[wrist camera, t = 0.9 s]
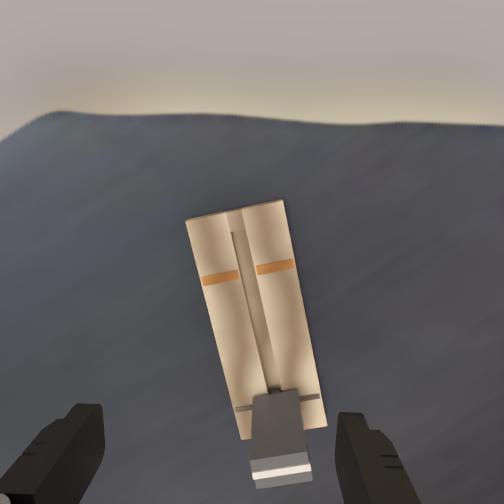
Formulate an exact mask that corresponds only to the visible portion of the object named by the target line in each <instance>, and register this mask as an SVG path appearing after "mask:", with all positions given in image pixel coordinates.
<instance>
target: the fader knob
mask: <svg viewBox="0 0 504 504" xmlns="http://www.w3.org/2000/svg"><path fill="white" fill-rule="evenodd" d="M250 464H251V468H252V476H253V480H255V484H256V488H257V489H261V488H267V487H274V486H280V485H287V484H293V483H300V482H307V481H313V478H312V471H311V465H310V459H309V452H308V446H307V439H306V433H305V427H304V420H303V414H302V409H301V404H300V400H299V395H298V390H293V391H287V392H280V388H278V389H273V390H271V394H270V395H264V396H258V397H253V403H252V423H251V443H250Z"/></svg>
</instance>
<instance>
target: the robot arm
mask: <svg viewBox="0 0 504 504" xmlns="http://www.w3.org/2000/svg"><path fill="white" fill-rule="evenodd" d="M104 450H105V437H104V424H103V411H102V406H101V405H100V404H81V403H78V404H76V405H75V406H74V407H73V408H72V409H71V410H70V412H69V413H68V414H67V415H66V417H65V418H64V419H57V420H55V421H54V422H52V423H51V424H50V425H48V426H47V427H45V428H44V429H42V430H41V432H40V433H39V434H38V435H37V436H36V438H35V439H34V440H33V441H32V442H31V445H29V446H28V447H27V448H26V449H25V450H24V452H23V454H22V456H19V458H18V459H17V460H16V461H15V462H14V463H13V465H12V466H11V467H10V468H9V469H8V471H7V472H6V473H5V474H4V475H3V476H2V478H1V479H0V504H79V502H80V501H81V499H82V497H83V495H84V493H85V491H86V490H87V488H88V486H89V484H90V482H91V480H92V479H93V477H94V475H95V473H96V471H97V470H98V468H99V466H100V464H101V462H102V459H103V455H104ZM335 464H336V472H337V476H338V480H339V484H340V488H341V492H342V496H343V500H344V504H421V502H420V500H419V498H418V496H417V494H416V492H415V490H414V488H413V485H412V483H411V481H410V479H409V477H408V475H407V473H406V471H405V470H404V468H403V465H402V463H401V460H400V458H398V454H397V452H396V450H395V448H394V446H393V444H392V442H391V441H390V440H389V439H388V438H387V437H386V436H385V435H384V434H383V433H382V432H381V431H380V430H369V427H368V425H367V422H366V420H365V418H364V415H363V414H362V413H349V412H339V415H338V423H337V435H336V446H335Z"/></svg>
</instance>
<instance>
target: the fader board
mask: <svg viewBox="0 0 504 504" xmlns="http://www.w3.org/2000/svg"><path fill="white" fill-rule="evenodd" d="M185 222H186V226H187V230H188V234H189V238H190V242H191V245H192V249H193V253H194V257H195V261H196V265H197V269H198V273H199V277H200V281H201V284H202V288H203V292H204V296H205V300H206V304H207V308H208V312H209V316H210V319H211V323H212V327H213V331H214V335H215V339H216V343H217V347H218V351H219V355H220V358H221V362H222V366H223V370H224V374H225V378H226V382H227V386H228V390H229V394H230V397H231V401H232V405H233V409H234V413H235V417H236V421H237V425H238V429H239V432H240V436H241V440H245V439H251V423H252V403H253V397H258V396H264V395H270V394H271V390H273V389H278V388H280V392H287V391H293V390H298V395H299V400H300V404H301V409H302V414H303V420H304V427H305V430H306V429H312V428H318V427H324V426H327V422H326V417H325V412H324V407H323V401H322V396H321V391H320V386H319V381H318V376H317V371H316V366H315V361H314V356H313V351H312V346H311V341H310V335H309V330H308V325H307V320H306V315H305V310H304V305H303V300H302V295H301V290H300V285H299V280H298V275H297V269H296V264H295V259H294V254H293V249H292V244H291V239H290V234H289V229H288V224H287V219H286V214H285V209H284V204H283V200H282V199H279V200H274V201H270V202H265V203H260V204H256V205H251V206H246V207H242V208H237V209H232V210H228V211H223V212H218V213H214V214H209V215H204V216H200V217H195V218H190V219H188V220H187V221H185Z"/></svg>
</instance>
